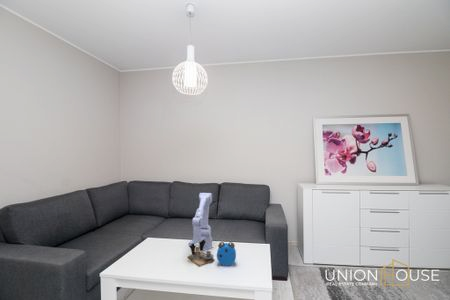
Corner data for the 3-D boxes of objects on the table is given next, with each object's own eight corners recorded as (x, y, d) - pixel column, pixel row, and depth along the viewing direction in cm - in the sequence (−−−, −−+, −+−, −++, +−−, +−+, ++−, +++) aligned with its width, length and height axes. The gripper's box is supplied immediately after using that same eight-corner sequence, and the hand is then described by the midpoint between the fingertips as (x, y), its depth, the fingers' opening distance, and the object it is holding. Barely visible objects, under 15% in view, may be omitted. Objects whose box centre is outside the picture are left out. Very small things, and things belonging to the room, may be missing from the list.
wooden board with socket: (202, 252, 171) (202, 244, 171) (215, 261, 158) (215, 252, 158) (187, 257, 163) (187, 248, 163) (199, 267, 150) (199, 257, 150)
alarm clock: (235, 262, 157) (235, 240, 157) (235, 266, 151) (235, 244, 151) (217, 261, 158) (217, 240, 158) (216, 266, 151) (216, 244, 151)
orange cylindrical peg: (197, 256, 164) (197, 246, 164) (199, 257, 162) (199, 247, 162) (194, 257, 162) (195, 247, 162) (197, 258, 160) (197, 248, 160)
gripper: (200, 229, 170) (200, 247, 170) (185, 235, 159) (185, 254, 159) (207, 232, 165) (207, 250, 165) (192, 237, 154) (192, 257, 154)
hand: (197, 252), depth 162 cm, fingers open, 7 cm apart
